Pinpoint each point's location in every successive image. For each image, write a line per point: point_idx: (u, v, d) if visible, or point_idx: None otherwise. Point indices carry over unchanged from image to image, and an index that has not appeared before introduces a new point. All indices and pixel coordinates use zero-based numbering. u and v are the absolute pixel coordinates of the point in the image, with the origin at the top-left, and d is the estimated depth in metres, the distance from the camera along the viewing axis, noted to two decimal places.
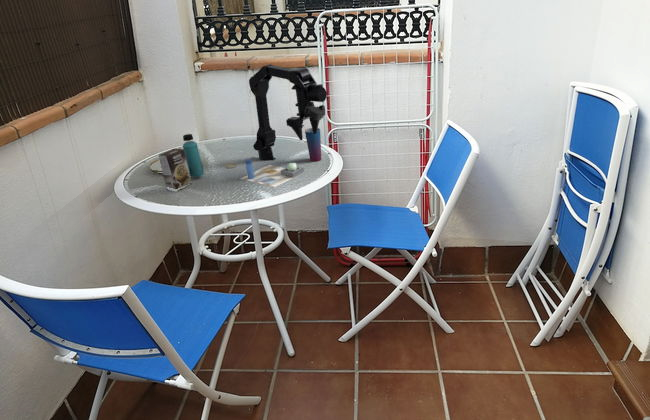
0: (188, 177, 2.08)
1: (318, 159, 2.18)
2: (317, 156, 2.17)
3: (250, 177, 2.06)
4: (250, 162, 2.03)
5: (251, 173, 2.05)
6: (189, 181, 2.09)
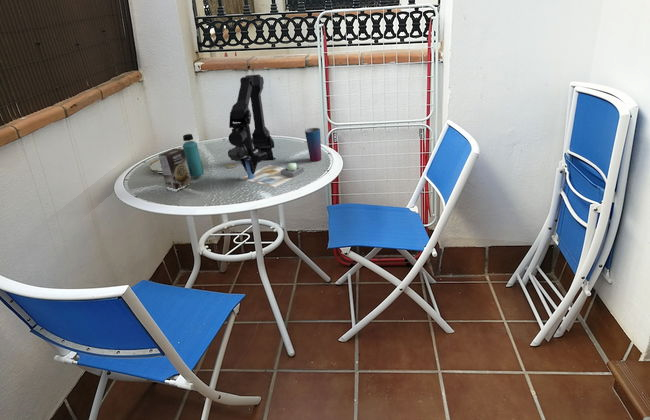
0: (188, 177, 2.08)
1: (318, 159, 2.18)
2: (317, 156, 2.17)
3: (250, 177, 2.06)
4: None
5: (251, 173, 2.05)
6: (189, 181, 2.09)
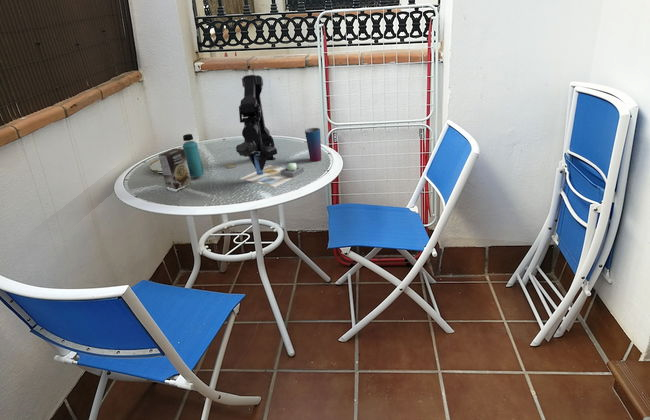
0: (188, 177, 2.08)
1: (318, 159, 2.18)
2: (317, 156, 2.17)
3: (259, 173, 2.01)
4: None
5: (260, 169, 2.00)
6: (189, 181, 2.09)
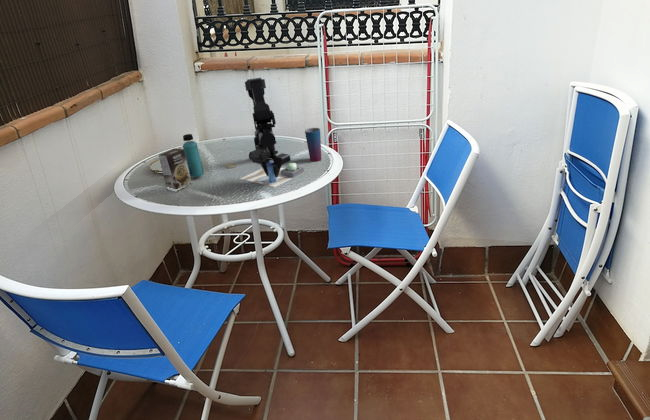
0: (188, 177, 2.08)
1: (318, 159, 2.18)
2: (317, 156, 2.17)
3: (272, 181, 1.99)
4: None
5: (273, 176, 1.99)
6: (189, 181, 2.09)
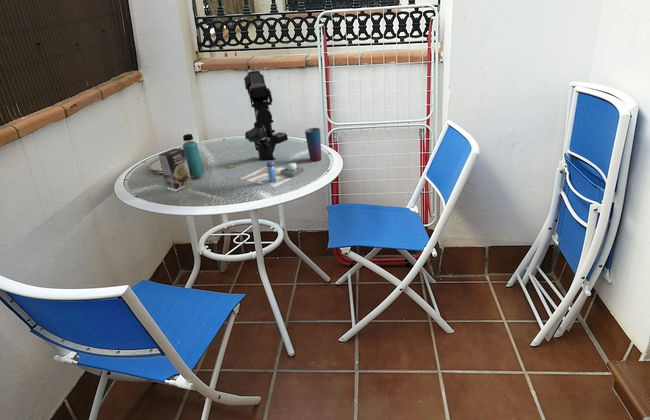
0: (188, 177, 2.08)
1: (318, 159, 2.18)
2: (317, 156, 2.17)
3: (272, 181, 1.99)
4: (272, 165, 1.97)
5: (273, 176, 1.99)
6: (189, 181, 2.09)
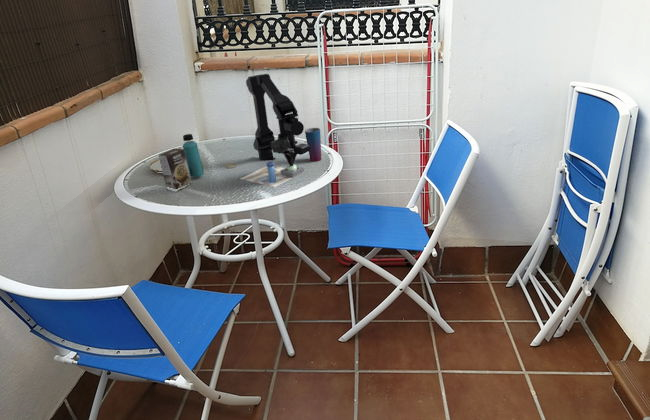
0: (188, 177, 2.08)
1: (318, 159, 2.18)
2: (317, 156, 2.17)
3: (272, 181, 1.99)
4: (272, 165, 1.97)
5: (273, 176, 1.99)
6: (189, 181, 2.09)
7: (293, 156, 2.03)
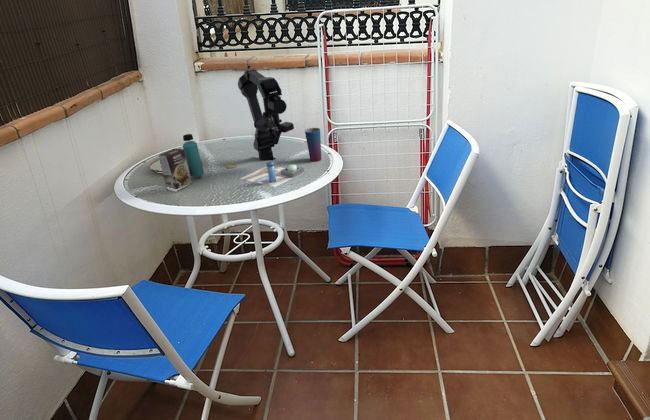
0: (188, 177, 2.08)
1: (318, 159, 2.18)
2: (317, 156, 2.17)
3: (272, 181, 1.99)
4: (272, 165, 1.97)
5: (273, 176, 1.99)
6: (189, 181, 2.09)
7: (277, 134, 2.09)
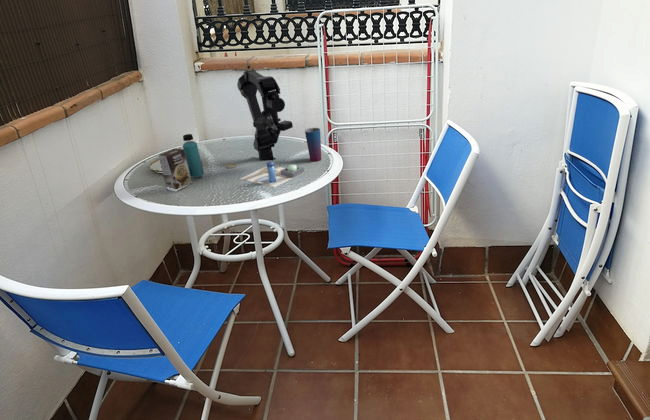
0: (188, 177, 2.08)
1: (318, 159, 2.18)
2: (317, 156, 2.17)
3: (272, 181, 1.99)
4: (272, 165, 1.97)
5: (273, 176, 1.99)
6: (189, 181, 2.09)
7: (276, 133, 2.09)
